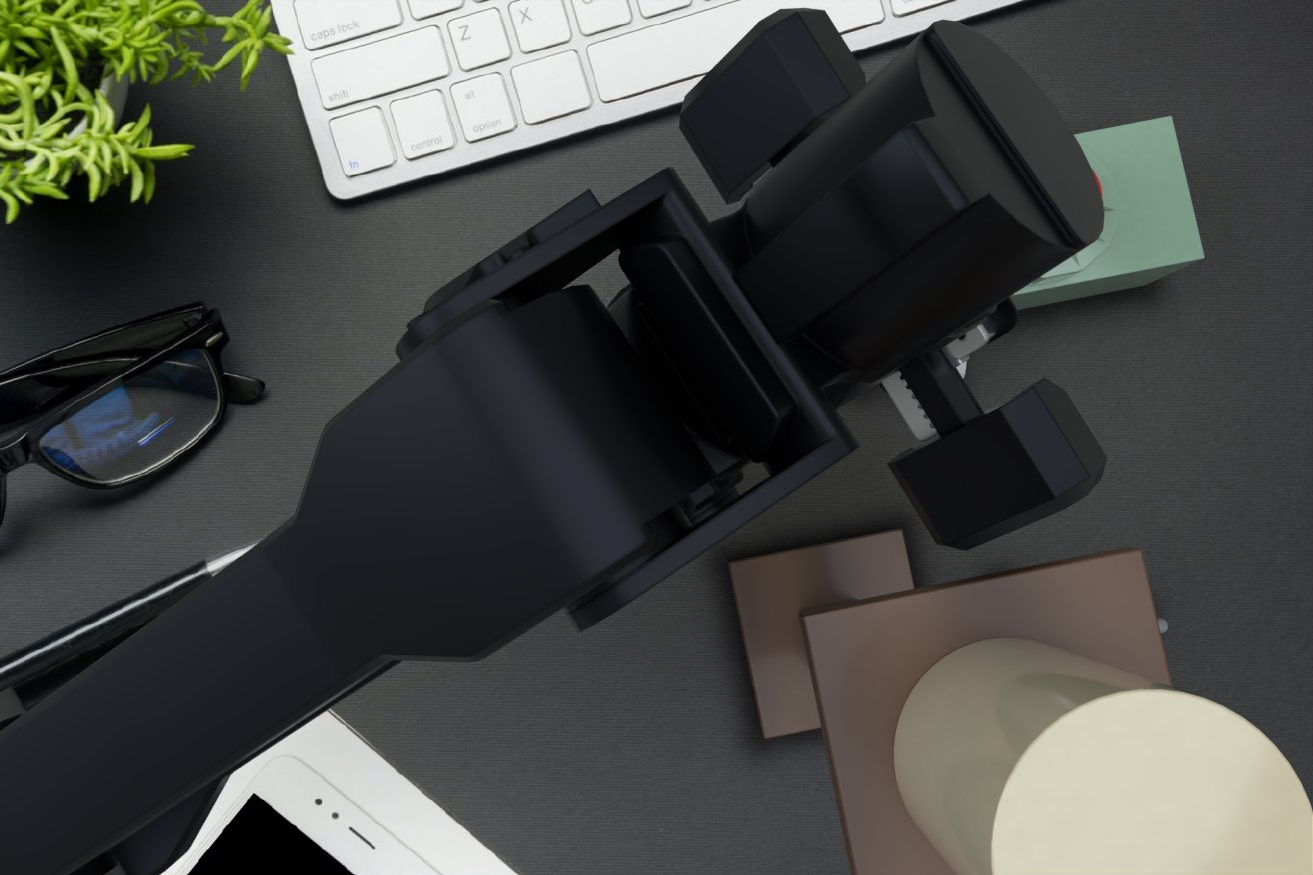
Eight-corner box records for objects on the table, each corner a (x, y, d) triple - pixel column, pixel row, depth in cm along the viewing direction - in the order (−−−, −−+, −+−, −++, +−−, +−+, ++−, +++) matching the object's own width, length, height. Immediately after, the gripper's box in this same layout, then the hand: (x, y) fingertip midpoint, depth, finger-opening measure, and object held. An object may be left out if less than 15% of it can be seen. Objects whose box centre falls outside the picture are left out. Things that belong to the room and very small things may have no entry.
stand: (762, 734, 55) (874, 968, 27) (727, 561, 56) (802, 615, 28) (933, 700, 55) (1221, 898, 27) (897, 528, 56) (1142, 547, 28)
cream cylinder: (919, 897, 27) (1030, 1059, 19) (871, 661, 28) (960, 724, 20) (1150, 850, 27) (1356, 992, 19) (1098, 616, 28) (1280, 660, 20)
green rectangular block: (946, 324, 56) (994, 293, 48) (918, 195, 57) (961, 144, 49) (1144, 285, 57) (1225, 248, 49) (1115, 158, 57) (1191, 100, 49)
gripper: (1204, 509, 25) (1308, 342, 37) (793, -138, 27) (1018, -105, 38) (860, 641, 33) (1034, 469, 44) (550, 134, 34) (799, 93, 45)
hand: (974, 240), depth 43 cm, fingers closed
